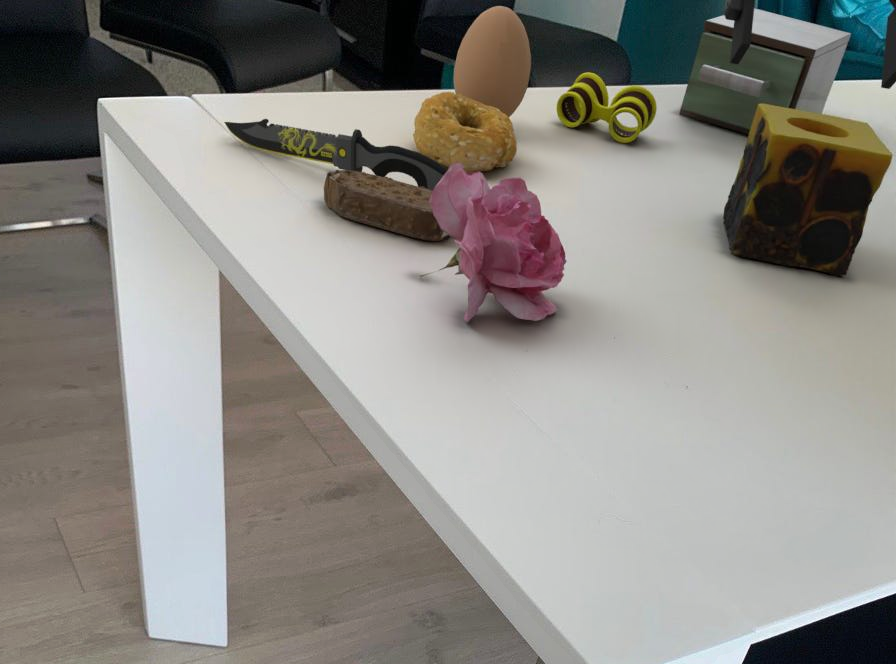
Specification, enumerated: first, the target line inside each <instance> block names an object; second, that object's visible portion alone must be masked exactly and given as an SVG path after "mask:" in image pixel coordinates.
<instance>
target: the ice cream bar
mask: <svg viewBox="0 0 896 664" xmlns="http://www.w3.org/2000/svg"><path fill="white" fill-rule="evenodd" d="M432 192H433V191H432V190H429V189H426V188H425V187H424V186H421V187H418V185H413V184H410V183H406V182H404V181H403V182H402V181H400V180H396V179H395V180H394V178H392V177H388V176H385V177H381V176H377V175H375V174H372V173H368V172H365V171H362V172H357V171H350V170H342V169H336V170H335V171H328V172H327V173H326V177H325V181H324V186H323V200H324V203H325V205H327V208H328V209H331V211H334V212H335V213H336V214H338V216H341V217H342V218H345V219H348V220H351V221H354V222H358V223H361V224H364V225H369V226H372V227H375V228H378V229H382V230H386V231H389V232H393V233H396V234H400V235H403V236H407V237H410V238H414V239H418V240H423V241H430V242H440V241H443V240H446V239H447V238H449V237H451V236H450V235H449V234H447V233H446V232H444V231H443V230H441V229H440V226H439V224H438V222H437V220H436V218H435V216H434V215H433V211H432V208H431V205H430V203H429V200H430V197H431V194H432Z"/></svg>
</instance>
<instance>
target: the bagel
mask: <svg viewBox="0 0 896 664" xmlns="http://www.w3.org/2000/svg"><path fill="white" fill-rule="evenodd" d="M413 125H414V133H412V137H413V142H414V144H415V145H416V149H417V150H418V151H419V152H418V153H421V154H423V155H425V156H427V157H429V158H431V159H433V160H434V161H436V162H438V163H440V164H441V165H443V166H444V167H446V168H447V169H449V167H450V165H451V164H454V163H461V165H462V169H463V170H464V171H465V172H466V173H470V172H476V171H480V172H481V173H483V172H488V171H489V172H490V171H492V170H493V169H494V168H505V167H506V166H507V165H508V163H510V162H512V161H513V159H514V157H515V156H516V154H517V151H518V148H517V147H518V146H517V145H518V143H517V138H516V136H515V133H514V126H513V122H512V120H511V119H510V117H509V118H508V116H507V115H506V114H504V113H502V112H501V111H500V110H499V109H497V108H495V107H492V106H487V105H485V104H482V103H480V102H478V101H475V100H472V99H470V98H468V97H466V96H463V95H460V94H455V91H454V92H453V91H445V92H444V91H443V92H440V93H436V94H434V95H432V96H431V97H426V98H425V99H424V100H423V101H422V102H421V106H420V109H419V111H418V112H417V114H416V115H415V118H414V121H413Z"/></svg>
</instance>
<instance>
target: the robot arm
mask: <svg viewBox="0 0 896 664" xmlns="http://www.w3.org/2000/svg"><path fill="white" fill-rule="evenodd" d="M888 2H889V3H890V5H891V6H892V8H893V10H892V11H891V12H890V13H889V15H888V16H887V21H886V31H885V42H884V53H883V63H882V75H881V85H880V88H881V89H885V90H886V89H887V90H890V89H891V88H892V87H893V86H894V85H895V84H896V0H888ZM755 6H756V0H725V3H724V11H723V15H725V18H726V19H727V20H733V21H734V28H733V37H732V47H731V57H730V63H732V64H739V62H740V61H741V59H742V58H743V56H744V55H745V53H746V51H747V50H748V48H749V47H750V45H751V35H752V26H753V16H754V8H755Z"/></svg>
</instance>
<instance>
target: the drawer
mask: <svg viewBox="0 0 896 664" xmlns="http://www.w3.org/2000/svg"><path fill="white" fill-rule="evenodd" d="M701 36H702V38H701V37H700V39H701V42H700V41H699V43H700V45H699V44H698V46H699V49H698V48H697V50H698V52H697V51H696V53H697V56H696V55H695V57H696V59H695V58H694V60H695V63H694V62H693V64H694V66H693V65H692V67H693V70H692V69H691V71H692V73H691V72H690V74H691V77H690V76H689V78H690V80H689V79H688V81H689V84H688V83H687V85H688V87H687V86H686V88H687V91H686V90H685V92H686V94H685V93H684V95H685V98H684V97H683V99H684V101H683V100H682V102H683V105H682V104H681V106H682V109H683V110H687V111H690V112H693V113H697V114H700V115H703V116H706V117H710V118H713V119H716V120H720V121H723V122H726V123H730V124H733V125H736V126H740V127H743V128H746V129H751V125H752V122H753V119H754V116H755V113H756V110H757V107H758V104H769V105H774V106H779V107H785V108H789V106H790V103H791V100H792V97H793V94H794V91H795V88H796V86H797V83H798V80H799V77H800V74H801V71H802V68H803V66H804V63H805V59H804V58H805V57H804V56H800V55H796V54H793V53H789V52H785V51H782V50H778V49H774V48H771V47H767V46H763V45H760V44H756V43H752V42H751V45H750V47H749V48H748V50H747V51H746V53H745V55H744V56H743V58H742V59H741V61H740V62H739V64H732V63H730V57H731V47H732V37H730V36H727V35H723V34H717V35H716V34H713V33H709V32H705V33H703V35H702V34H701Z"/></svg>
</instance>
